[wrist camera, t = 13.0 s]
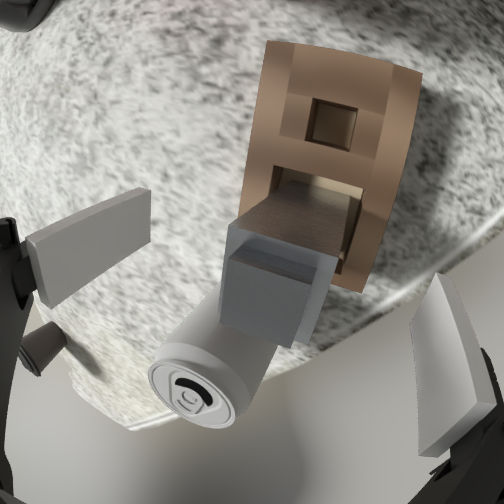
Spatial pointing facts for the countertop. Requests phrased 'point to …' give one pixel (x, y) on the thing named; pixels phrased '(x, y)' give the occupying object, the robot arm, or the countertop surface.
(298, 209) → the grey square peg
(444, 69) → the countertop surface
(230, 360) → the beverage can
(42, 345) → the coffee cup
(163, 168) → the countertop surface
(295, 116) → the socket block
